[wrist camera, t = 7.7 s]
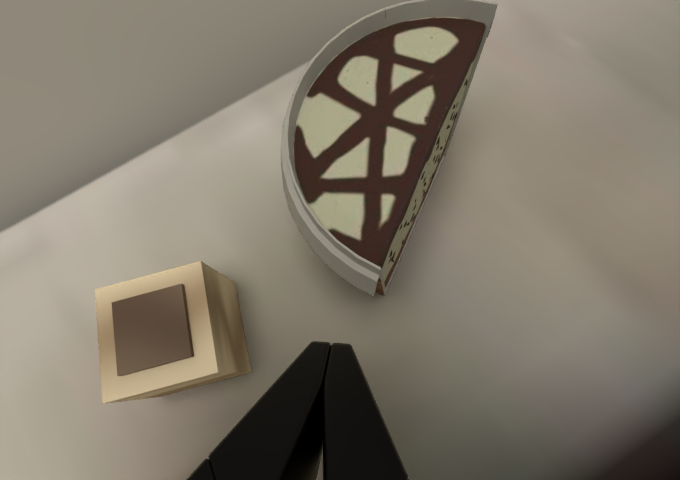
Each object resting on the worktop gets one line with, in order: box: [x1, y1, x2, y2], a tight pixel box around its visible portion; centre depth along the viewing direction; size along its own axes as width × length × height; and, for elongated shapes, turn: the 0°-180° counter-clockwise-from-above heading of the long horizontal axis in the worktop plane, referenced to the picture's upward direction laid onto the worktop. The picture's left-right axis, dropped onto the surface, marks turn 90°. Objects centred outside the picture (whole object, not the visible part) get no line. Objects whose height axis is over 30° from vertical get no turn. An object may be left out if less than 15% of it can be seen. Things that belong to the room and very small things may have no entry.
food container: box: [281, 0, 498, 296], centre depth 20 cm, size 12×6×10 cm, turn 155°
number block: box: [95, 261, 251, 404], centre depth 20 cm, size 5×5×5 cm
